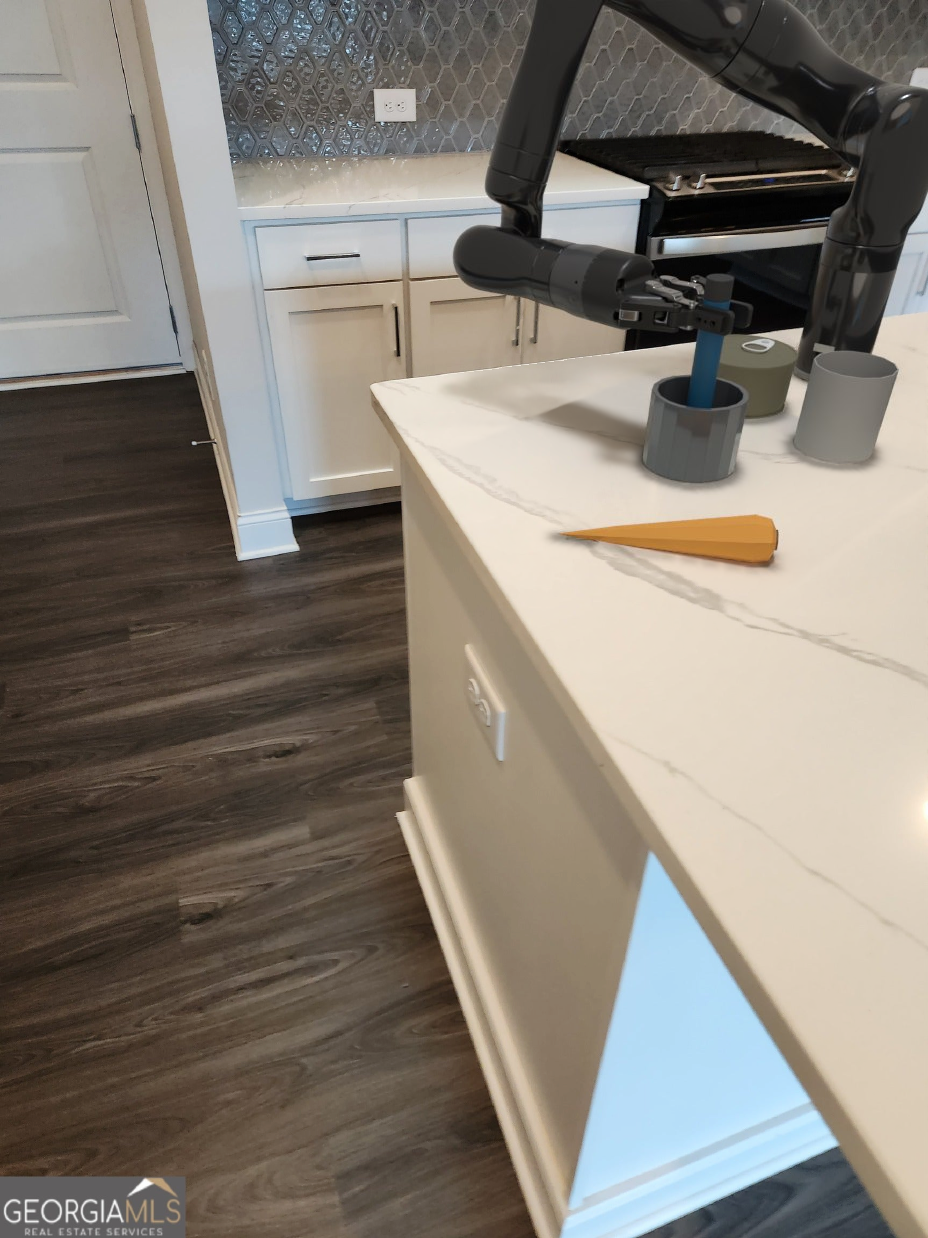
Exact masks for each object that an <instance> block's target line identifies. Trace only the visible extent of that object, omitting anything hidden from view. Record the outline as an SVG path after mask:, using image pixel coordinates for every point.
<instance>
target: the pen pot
mask: <svg viewBox="0 0 928 1238" xmlns="http://www.w3.org/2000/svg"><path fill="white" fill-rule="evenodd" d="M690 378H691V374H679V375H671V376H667V377H664V378H661V379H659V380H658V381H656V382H655V383H653V385H652V388H651V394H650V400H649V406H648V407H649V408H648V414H647V422H646V430H645V436H644V444H643V452H642V462H643V465H644V466H645V467H646V469H648V470H649V471H651V473H653V474H655V475H657V476H659V477H662V478H664V479H667V480H671V481H675V482H680V483H687V484H706V483H713V482H717V481H722V480H724V479H726V478H728V477H729V476H730V475H731V474H732V473H733V472H734V471H735V467H736V463H737V457H738V453H739V448H740V443H741V438H742V435H743V428H744V424H745V420H746V419H745V415H746V410H747V406H748V401H749V393H748V392H747V391H746V390H745V389H744V388H743V387H742V386H740V385H738V384H736V383H734V382H732V381H729V380H725V379H722V378H718V377H717V380H716V385H715V391H714V397H713V402H712V408H695V407H689V406H686V404H687V397H688V391H689V385H690Z"/></svg>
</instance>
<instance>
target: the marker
mask: <svg viewBox="0 0 928 1238" xmlns="http://www.w3.org/2000/svg"><path fill="white" fill-rule="evenodd" d="M705 279H706V283H705V289H704V296H703V302H702V304H705V305H708V306H713V307H717V308H721V309H725V310H729V306H730V301H731V300H732V299H731V298H732V294H733V289H734V284H735V283H734V282H735V277H734V276H733V275H730V274H727V273H711V274H709V275H706V277H705ZM730 299H731V300H730ZM723 340H724V336H721V335H718V334H714V333H710V332H707V331H703V330H699V329H697V335H696V340H695V347H694V354H693V360H692V366H691V373H690V375H691V378H690V385H689V391H688V397H687V404H686V406H689V407H695V408H712V402H713V397H714V391H715V385H716V380H717V374H718V368H719V363H720V357H721V352H722V346H723Z"/></svg>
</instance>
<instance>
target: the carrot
mask: <svg viewBox="0 0 928 1238" xmlns="http://www.w3.org/2000/svg"><path fill="white" fill-rule="evenodd" d="M557 535H561V536H566V537H569V538H570V537H571V538H576V539H581V540H586V541H591V542H592V541H593V542H597V543H598V542H599V541H600V542H604V543H611V544H616V545H623V546H631V547H638V548H645V549H653V550H660V551H667V552H674V553H681V554H688V555H696V556H702V557H710V558H718V559H724V560H733V561H739V562H747V563H760V562H761V563H762V562H769V561H770V559H771V557H772V556H773V554H774V552H775V551H777V550H778V546H779V537H780V536H779V535H780V534H779V529H777V528H776V526H775V523H774V520H773V518H771V517H766V516H762V515H759V514H746V515H745V514H744V515H735V516H734V515H732V516H719V517H708V518H707V517H706V518H695V519H684V520H673V521H660V522H658V521H657V522H649V523H648V522H647V523H646V522H645V523H636V524H635V523H634V524H623V525H622V524H621V525H612V526H604V527H597V528H590V529H582V530H575V531H566V532H559V533H557Z"/></svg>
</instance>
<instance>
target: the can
mask: <svg viewBox="0 0 928 1238" xmlns="http://www.w3.org/2000/svg"><path fill="white" fill-rule="evenodd" d="M797 352H798V350H796V349H795V348H794V347H793V346H791V345H789V344H787V343H785V342H783V341H780V340H777V339H774V338H770V337H766V336H759V335H752V334H742V333H741V334H740V333H739V334H738V333H737V334H735V333H734V334H733V333H731V334H729V335H726V336H724V340H723V346H722V352H721V357H720V363H719V368H718V374H717V377H718V378H722V379H725V380H729V381H732V382H734V383H736V384H738V385H740V386H742V387H743V388H744V389H745V390H746V391H747V392H748V393H749V401H748V406H747V410H746V415H745V420H757V419H758V420H759V419H766V418H770V417H773V416H776V415H778V414H780V413H783V412H784V409H785V405H786V404H785V403H786V400H787V397H788V393H789V389H790V385H791V381H792V377H793V374H794V371H793V369H794V366H795V363H796V362H797V359H798V353H797Z"/></svg>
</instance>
